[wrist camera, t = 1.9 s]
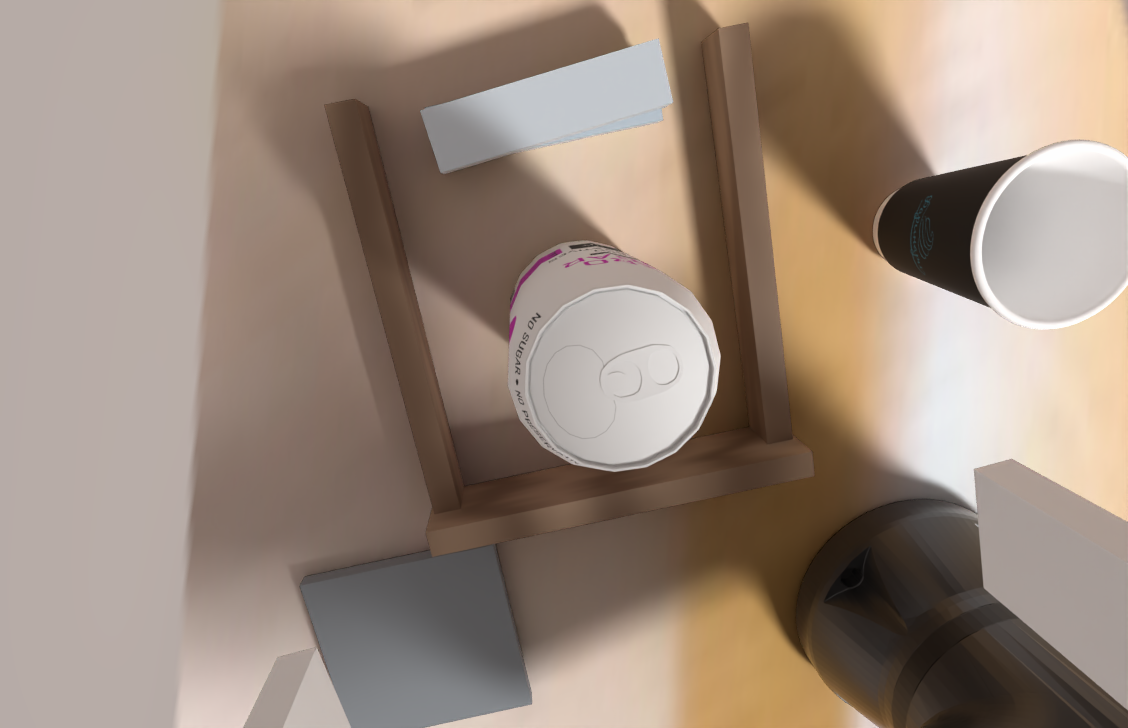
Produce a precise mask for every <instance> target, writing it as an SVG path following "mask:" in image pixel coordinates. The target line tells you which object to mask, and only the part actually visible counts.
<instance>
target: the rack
mask: <svg viewBox="0 0 1128 728" xmlns="http://www.w3.org/2000/svg"><path fill="white" fill-rule="evenodd" d="M701 43H702V51H703V59H704V67H705V75H706V83H707V91H708V99H709V107H710V115H711V123H712V131H713V139H714V147H715V155H716V163H717V171H718V179H719V187H720V195H721V203H722V211H723V219H724V227H725V235H726V243H727V251H728V259H729V267H730V275H731V283H732V291H733V299H734V307H735V315H736V323H737V331H738V339H739V347H740V355H741V363H742V371H743V379H744V387H745V395H746V403H747V411H748V419H749V427H746V428H741V429H736V430H732V431H727V432H722V433H717V434H712V435H708V436H703V437H698V438H693V439H689V440H688V441H687V442H686V443H685V444H684V445H683V446H682V447H681V448H680V449H679V450H678V451H677V452H676V453H674V454H672V455H670V456H668V457H666V458H664V459H662V460H660V461H658V462H656V463H654V464H652V465H650V466H648V467H645V468H638V469H631V470H624V471H617V472H612V471H605V470H600V469H594V468H589V467H584V466H578V465H573V464H569V465H564V466H559V467H555V468H550V469H545V470H540V471H535V472H531V473H526V474H521V475H516V476H512V477H507V478H502V479H497V480H492V481H488V482H483V483H478V484H473V485H469V486H464V484H463V480H462V476H461V472H460V468H459V464H458V460H457V456H456V452H455V448H454V444H453V440H452V436H451V432H450V428H449V424H448V421H447V417H446V413H445V409H444V405H443V401H442V397H441V393H440V389H439V385H438V381H437V377H436V373H435V369H434V365H433V361H432V357H431V353H430V349H429V345H428V341H427V337H426V333H425V330H424V326H423V322H422V318H421V314H420V310H419V306H418V302H417V298H416V294H415V290H414V286H413V282H412V278H411V274H410V270H409V266H408V262H407V258H406V254H405V250H404V246H403V242H402V239H401V235H400V231H399V227H398V223H397V219H396V215H395V211H394V207H393V203H392V199H391V195H390V191H389V187H388V183H387V179H386V175H385V171H384V167H383V163H382V159H381V155H380V151H379V148H378V144H377V140H376V136H375V132H374V128H373V124H372V120H371V116H370V112H369V108H368V106H366V105H364V104H363V103H361V102H359V101H358V100H356V99H351V100H346V101H341V102H336V103H331V104H326V105H324V106H325V110H326V113H327V117H328V121H329V124H330V128H331V132H332V136H333V139H334V143H335V147H336V150H337V154H338V158H339V162H340V165H341V169H342V173H343V176H344V180H345V184H346V188H347V191H348V195H349V199H350V202H351V206H352V210H353V214H354V217H355V221H356V225H357V228H358V232H359V236H360V240H361V243H362V247H363V251H364V255H365V258H366V262H367V266H368V269H369V273H370V277H371V281H372V284H373V288H374V292H375V295H376V299H377V303H378V307H379V310H380V314H381V318H382V321H383V325H384V329H385V333H386V336H387V340H388V344H389V347H390V351H391V355H392V359H393V362H394V366H395V370H396V373H397V377H398V381H399V385H400V388H401V392H402V396H403V399H404V403H405V407H406V411H407V414H408V418H409V422H410V426H411V429H412V433H413V437H414V440H415V444H416V448H417V452H418V455H419V459H420V463H421V466H422V470H423V474H424V478H425V481H426V485H427V489H428V492H429V496H430V500H431V504H432V510H431V514H430V518H429V521H428V525H427V529H426V536H427V540H428V544H429V547H430V551H431V554H432V557H435V556H439V555H444V554H449V553H454V552H458V551H463V550H468V549H472V548H477V547H482V546H487V545H491V544H496V543H501V542H506V541H510V540H515V539H520V538H525V537H529V536H534V535H539V534H543V533H548V532H553V531H558V530H562V529H567V528H572V527H577V526H581V525H586V524H591V523H595V522H600V521H605V520H610V519H614V518H619V517H624V516H629V515H633V514H638V513H643V512H647V511H652V510H657V509H662V508H666V507H671V506H676V505H681V504H685V503H690V502H695V501H699V500H704V499H709V498H714V497H718V496H723V495H728V494H733V493H737V492H742V491H747V490H752V489H756V488H761V487H766V486H770V485H775V484H780V483H785V482H789V481H794V480H799V479H804V478H808V477H813V476H815V473H814V463H813V453H812V451H811V450H810V449H809V448H808V447H807V446H806V445H804V444H803V443H802V442H801V441H800V440H799V439H797V438H796V437H795V436H794V435H793V434H792V426H791V417H790V408H789V398H788V389H787V380H786V370H785V361H784V352H783V342H782V333H781V324H780V314H779V305H778V295H777V286H776V277H775V267H774V258H773V249H772V239H771V230H770V221H769V211H768V202H767V193H766V183H765V174H764V165H763V155H762V146H761V137H760V127H759V118H758V109H757V99H756V90H755V81H754V71H753V62H752V53H751V43H750V34H749V25H748V23H744V24H738V25H733V26H728V27H723V28H718V29H717V30H716V31H715V32H713V33H712V34H711V35H710V36H708V37H707V38H706V39H705V40H704V41H702V42H701Z"/></svg>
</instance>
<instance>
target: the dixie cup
mask: <svg viewBox="0 0 1128 728" xmlns="http://www.w3.org/2000/svg"><path fill="white" fill-rule="evenodd" d="M873 239H874V243H875V246H876V248H877V250H878V252H879V253H880V255H881V256H882V257H883V258H884V259H885V260H886V261H887V262H888V263H889V264H890V265H891V266H893V267H894V268H895V269H897V270H899V271H901V272H903V273H906V274H908V275H910V276H913V277H915V278H918V279H920V280H923V281H925V282H928V283H930V284H933V285H935V286H938V287H940V288H943V289H945V290H948V291H950V292H953V293H955V294H958V295H960V296H962V297H965V298H967V299H970V300H972V301H975V302H977V303H980V304H982V305H985V306H987V307H990V308H992V309H993V310H994V311H995V312H996V313H997V314H998V315H1000V316H1001V317H1003V318H1004V319H1006V320H1008V321H1009V322H1011V323H1014V324H1016V325H1019V326H1022V327H1026V328H1032V329H1056V328H1062V327H1066V326H1070V325H1073V324H1076V323H1079V322H1081V321H1083V320H1085V319H1087V318H1089V317H1091V316H1093V315H1095V314H1096V313H1098V312H1099V311H1101V310H1102V309H1104V308H1105V307H1106V306H1107V305H1109V304H1110V303H1111V302H1112V301H1113V300H1114V299H1115V298H1116V297H1117V296H1118V295H1119V294H1120V293H1121V292H1122V291H1123V290H1124V289H1125V287H1126V286H1127V285H1128V157H1127V156H1126V155H1124V154H1123V153H1122V152H1120V151H1118V150H1117V149H1115V148H1113V147H1111V146H1109V145H1106V144H1103V143H1100V142H1095V141H1090V140H1068V141H1061V142H1057V143H1053V144H1050V145H1048V146H1045V147H1042V148H1040V149H1038V150H1036V151H1034V152H1032V153H1030V154H1029V155H1026V156H1021V157H1017V158H1012V159H1008V160H1003V161H999V162H994V163H990V164H985V165H981V166H976V167H972V168H967V169H963V170H958V171H954V172H949V173H945V174H940V175H936V176H931V177H927V178H922V179H918V180H915V181H912V182H910V183H908V184H906V185H905V186H903V187H902V188H900V189H898V190H896V191H895V192H893V193H892V194H891V195H890V196H888V197H887V198H886V199H885V201H884V202H883V203H882V205H881V206H880V208H879V209H878V212H877V214H876V216H875V220H874V224H873Z"/></svg>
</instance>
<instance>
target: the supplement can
mask: <svg viewBox="0 0 1128 728" xmlns="http://www.w3.org/2000/svg"><path fill="white" fill-rule="evenodd" d="M720 358H721V355H720V351H719V347H718V343H717V339H716V335H715V331H714V327H713V323H712V320H711V319H710V318H709V316H708V315H707V313H706V312H705V311H704V309H703V308H702V306H701V305H700V303H699V302H698V301H697V299H696V298H695V296H694V295H693V293H692V292H691V291H690V290H688V289H687V288H685V287H684V286H682V285H681V284H679V283H678V282H676V281H675V280H673V279H672V278H670V277H669V276H667V275H666V274H664V273H663V272H661V271H660V270H658V269H656V268H654V267H652V266H650V265H648V264H646V263H644V262H642V261H640V260H638V259H636V258H634V257H632V256H630V255H628V254H626V253H624V252H622V251H620V250H618V249H616V248H615V247H613V246H610V245H606V244H602V243H597V242H593V241H589V240H581V241H573V242H566V243H560V244H558V245H556V246H554V247H552V248H550V249H548V250H546V251H544V252H543V253H541V254H539V255H537V256H536V257H535V258H534V260H533V261H532V262H531V263H530V264H529V265H528V266H527V267H526V268H525V269H524V271H523V272H522V273H521V274H520V276H519V278H518V281H517V283H516V286H515V288H514V290H513V293H512V295H511V298H510V329H509V364H508V388H509V390H510V393H511V396H512V399H513V402H514V405H515V408H516V411H517V414H518V417H519V419H520V421H521V422H522V423H523V424H524V426H525V427H526V428H527V429H528V430H529V432H530V433H531V434H532V435H533V436H534V438H535V439H536V440H537V441H538V442H539V444H540V445H541V446H542V447H543V448H545V449H547V450H549V451H550V452H552V453H554V454H555V455H557V456H559V457H561V458H562V459H564V460H566V461H568V462H569V463H571V464H573V465H578V466H584V467H589V468H594V469H600V470H605V471H612V472H617V471H624V470H631V469H638V468H645V467H648V466H650V465H652V464H654V463H656V462H658V461H660V460H662V459H664V458H666V457H668V456H670V455H672V454H674V453H676V452H677V451H678V450H679V449H680V448H681V447H682V446H683V445H684V444H685V443H686V442H687V441H688V440H689V439H690V438H691V437H692V436H693V435H694V434H695V433H696V432H697V431H698V430H699V428H700V426H701V424H702V422H703V420H704V418H705V416H706V414H707V412H708V410H709V408H710V406H711V403H712V401H713V398H714V396H715V394H716V392H717V384H718V376H719V367H720Z"/></svg>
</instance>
